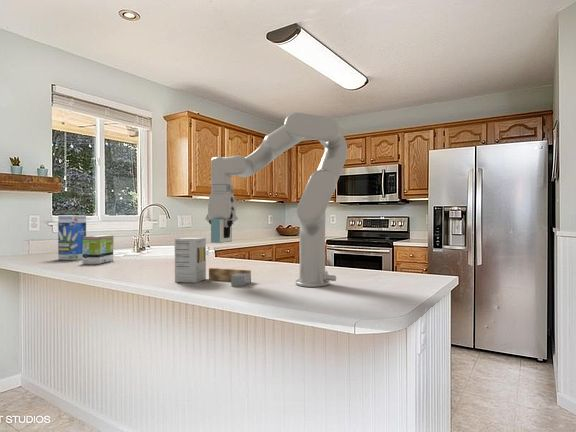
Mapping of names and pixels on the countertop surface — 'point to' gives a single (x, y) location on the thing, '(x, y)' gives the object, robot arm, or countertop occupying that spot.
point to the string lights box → (71, 237)
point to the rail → (225, 273)
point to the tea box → (97, 249)
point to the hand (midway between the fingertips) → (221, 237)
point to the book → (219, 231)
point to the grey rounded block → (240, 279)
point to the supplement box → (190, 259)
